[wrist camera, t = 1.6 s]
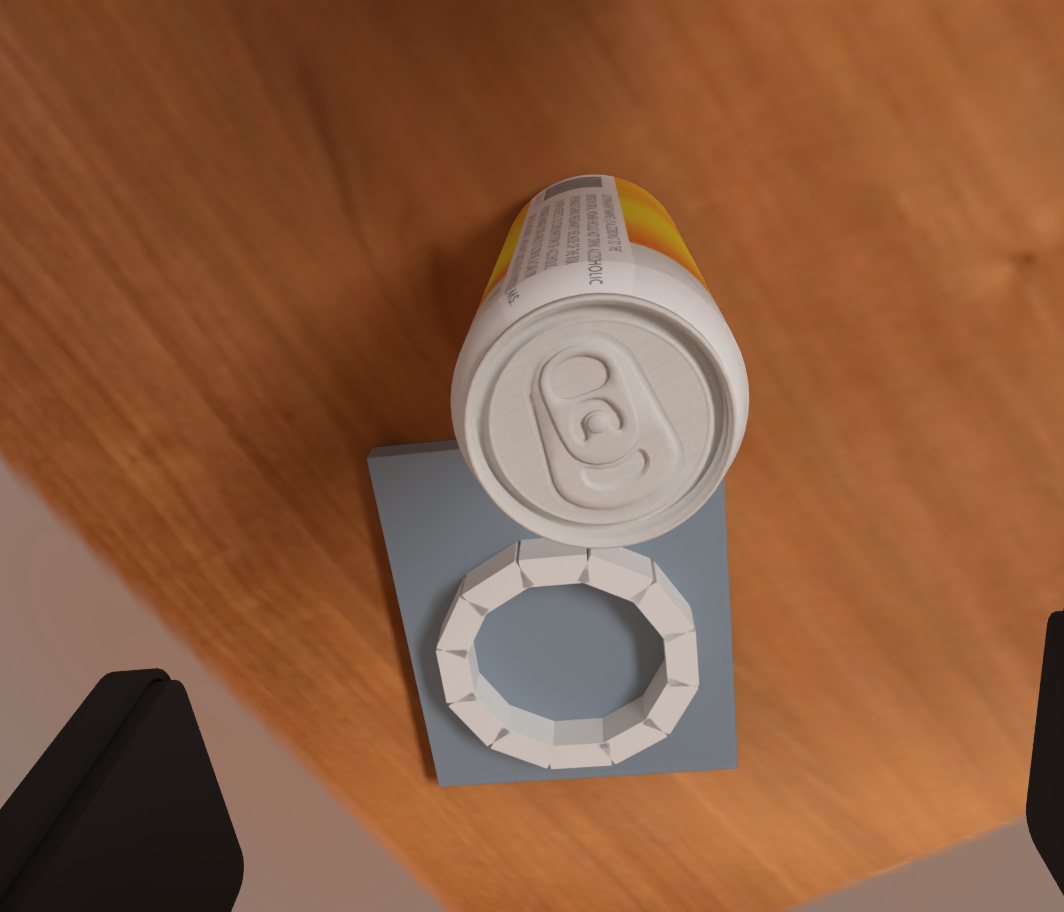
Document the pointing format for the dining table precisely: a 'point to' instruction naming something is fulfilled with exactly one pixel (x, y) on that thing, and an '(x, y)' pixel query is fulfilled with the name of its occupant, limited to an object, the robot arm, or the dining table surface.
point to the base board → (555, 634)
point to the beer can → (598, 372)
